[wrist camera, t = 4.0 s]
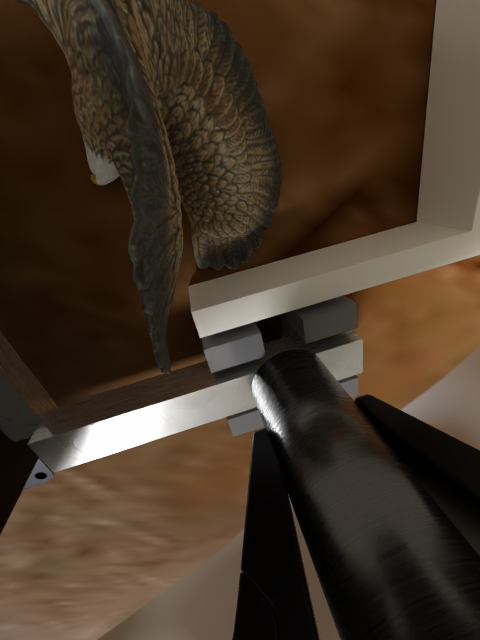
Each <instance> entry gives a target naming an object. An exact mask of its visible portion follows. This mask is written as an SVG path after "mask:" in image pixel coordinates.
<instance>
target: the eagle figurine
mask: <svg viewBox="0 0 480 640" xmlns="http://www.w3.org/2000/svg"><path fill="white" fill-rule="evenodd" d="M16 1H18V2H21V3H23V4H25V5H28V6H30V7H31V8H33V9H34V10H35V11H36V12H37V14H38V15H39V17H40V18H41V20H42V21H43V23H44V24H45V25H46V26H47V27H48V29H49V30H50V31H51V33H52V34H53V36H54V38H55V39H56V41H57V43H58V44H59V46H60V48H61V49H62V51H63V53H64V55H65V57H66V60H67V62H68V65H69V68H70V71H71V75H72V88H71V90H72V99H73V106H74V112H75V117H76V120H77V123H78V126H79V127H80V129H81V134H82V138H83V141H84V144H85V149H86V154H87V159H88V164H89V167H90V169H91V171H92V173H93V174H92V175H91V177H90V178H91V180H92V182H93V183H95V184H97V185H106V184H108V183H110V182H112V181H114V180H115V179H116V178H117V177H119V176H120V177H121V180H122V182H123V185H124V187H125V190H126V193H127V196H128V199H129V202H130V205H131V208H132V213H133V218H134V224H133V225H132V227H131V231H130V235H129V241H128V255H129V258H130V259H131V261H132V262H133V265H134V266H133V281H134V284H135V286H136V287H137V289H138V290H141V293H142V309H143V311H144V312H145V318H146V323H147V328H148V334H149V337H150V340H151V345H152V349H153V353H154V358H155V361H156V364H157V367H158V368H160V370H161V372H163V373H166V374H170V371H171V370H170V368H171V362H170V356H169V353H168V342H167V323H168V315H169V310H170V307H171V305H172V302H173V299H174V297H175V293H176V289H177V282H178V272H179V268H180V265H181V259H182V252H183V230H182V224H181V220H182V213H181V202H182V205H183V207H184V209H185V211H186V213H187V216H188V219H189V222H190V230H191V237H192V245H193V247H194V256H195V259H196V262H197V265H198V267H199V268H201V269H205V268H207V267H211V268H213V269H214V270H216V271H219V270H221V269H222V268H223V267H224V266H227V267H228V268H229V269H236V268H237V267H238V266H239V263H241V262H242V263H247V262H248V261H249V260H250V259H251V256H252V252H253V249H255V248H256V249H258V248H259V247H260V246H261V245H262V242H263V228H268V227H269V226H270V224H271V222H272V220H271V214H272V212H274V211H275V210H276V208H277V206H278V203H277V201H278V198H279V188H278V187H279V184H280V183H281V175H280V172H279V167H280V165H281V164H280V159H279V156H278V155H277V152H276V149H277V148H276V143H275V141H274V134H273V132H272V129H271V128H270V127H269V126H268V122H269V118H268V116H267V113H266V111H265V108H264V102H263V99H262V97H261V95H260V94H259V92H258V91H257V82H256V78H255V76H254V74H253V72H252V68H251V65H250V63H249V61H248V60H247V59H246V57H245V56H244V53H243V50H242V47H241V45H240V44H239V43H237V42H236V41H235V39H234V38H233V36H232V33H231V31H230V29H229V27H228V25H227V23H225V22H221V21H220V19H219V17H218V16H217V15H216V13H214V12H213V11H210V12H205V10H204V9H203V7H202V6H201V5H199V4H198V3H197V2H191V3H189V2H188V0H16Z"/></svg>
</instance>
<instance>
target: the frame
mask: <svg viewBox="0 0 480 640" xmlns="http://www.w3.org/2000/svg"><path fill="white" fill-rule="evenodd" d="M477 255H480V0H436V11H435V23H434V34H433V45H432V56H431V67H430V78H429V89H428V100H427V111H426V122H425V133H424V144H423V155H422V166H421V177H420V188H419V199H418V211H417V222H414V223H410V224H407V225H403V226H400V227H396V228H393V229H389V230H386V231H382V232H378V233H375V234H371V235H368V236H364V237H361V238H357V239H354V240H350V241H347V242H343V243H339V244H336V245H332V246H329V247H325V248H322V249H318V250H315V251H311V252H308V253H304V254H301V255H297V256H293V257H290V258H286V259H283V260H279V261H276V262H272V263H269V264H265V265H262V266H258V267H254V268H251V269H247V270H244V271H240V272H237V273H233V274H230V275H226V276H223V277H219V278H215V279H212V280H208V281H205V282H201V283H198V284H194V285H191V286H188V288H189V297H190V306H191V313H192V316H193V319H194V322H195V325H196V328H197V331H198V334H199V336H200V338H202V337H206V336H209V335H212V334H216V333H219V332H222V331H226V330H229V329H232V328H236V327H239V326H243V325H246V324H249V323H253V322H256V321H259V320H263V319H266V318H269V317H273V316H276V315H279V314H283V313H286V312H289V311H293V310H296V309H299V308H303V307H306V306H309V305H313V304H316V303H320V302H323V301H326V300H330V299H333V298H336V297H340V296H343V295H346V294H350V293H353V292H356V291H360V290H363V289H366V288H370V287H373V286H376V285H380V284H383V283H387V282H390V281H393V280H397V279H400V278H403V277H407V276H410V275H413V274H417V273H420V272H423V271H427V270H430V269H433V268H437V267H440V266H443V265H447V264H450V263H454V262H457V261H460V260H464V259H467V258H470V257H474V256H477Z"/></svg>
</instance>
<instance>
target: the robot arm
mask: <svg viewBox="0 0 480 640" xmlns="http://www.w3.org/2000/svg"><path fill="white" fill-rule="evenodd" d="M355 403H356V404H357V405H358V407H359V408H360V409H361V410H362V412H363V413H364V414H365V415H366V417H367V418H368V419H369V420H370V421H371V423H372V424H373V425H374V426H375V428H376V429H377V430H378V431H379V433H380V434H381V435H382V436H383V438H384V439H385V440H386V441H387V442H388V444H389V445H390V446H391V447H392V449H393V450H394V451H395V452H396V454H397V455H398V456H399V457H400V458H401V460H402V461H403V462H404V463H405V465H406V466H407V467H408V468H409V470H410V471H411V472H412V473H413V475H414V476H415V477H416V478H417V479H418V481H419V482H420V483H421V484H422V486H423V487H424V488H425V489H426V491H427V492H428V493H429V494H430V495H431V497H432V498H433V499H434V500H435V502H436V503H437V504H438V505H439V507H440V508H441V509H442V510H443V511H444V513H445V514H446V515H447V516H448V518H449V519H450V520H451V521H452V523H453V524H454V525H455V526H456V528H457V529H458V530H459V531H460V532H461V534H462V535H463V536H464V537H465V539H466V540H467V541H468V542H469V544H470V545H471V546H472V547H473V548H474V550H475V551H476V552H477V553H478V555H479V556H480V450H478V449H476V448H474V447H472V446H470V445H468V444H466V443H464V442H462V441H460V440H458V439H456V438H454V437H452V436H450V435H448V434H446V433H444V432H442V431H440V430H438V429H436V428H434V427H433V426H431V425H429V424H426V423H425V422H423V421H420V420H419V419H417V418H415V417H413V416H411V415H409V414H407V413H405V412H403V411H401V410H399V409H397V408H395V407H393V406H391V405H389V404H387V403H385V402H383V401H381V400H379V399H377V398H375V397H373V396H371V395H368V394H366V395H363V396H360V397H357V398H356V399H355ZM30 439H31V437H30V438H27V439H23V440H20V441H17V442H13V441H12V440H11V439H10V438H9V437H8V436H7V435H6V434H5V433H4V432H3V431H2V430H1V429H0V534H1V532H2V530H3V528H4V526H5V524H6V522H7V520H8V518H9V516H10V514H11V512H12V510H13V508H14V506H15V504H16V502H17V500H18V498H19V496H20V494H21V492H22V490H24V489H27V488H30V487H33V486H36V485H39V484H42V483H45V482H48V481H50V480H51V479H52V478H53V476H54V473H53V472H52V471H51V470H50V468H49V467H48V466H47V465H46V464H45V463H44V462H43V461H42V460H41V459H40V458H39V456H38V455H37V454H36V453H35V452H34V451H33V450H32V449H31V448H30V447H29V445H28V442H29V441H30ZM241 571H242V572H241V574H240V580H239V591H238V600H237V601H238V602H237V609H236V618H235V627H234V634H233V639H232V640H321V639H320V634H319V630H318V625H317V621H316V617H315V612H314V607H313V603H312V598H311V594H310V589H309V585H308V580H307V576H306V571H305V567H304V562H303V558H302V553H301V549H300V544H299V540H298V535H297V531H296V526H295V522H294V517H293V513H292V508H291V504H290V500H289V496H288V492H287V487H286V483H285V479H284V475H283V471H282V467H281V464H280V461H279V458H278V456H277V453H276V451H275V448H274V446H273V443H272V440H271V438H270V435H269V433H268V430H267V429H266V428H263V429H260V430H257V431H255V432H254V434H253V442H252V453H251V464H250V475H249V485H248V496H247V507H246V518H245V529H244V539H243V550H242V561H241Z"/></svg>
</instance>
